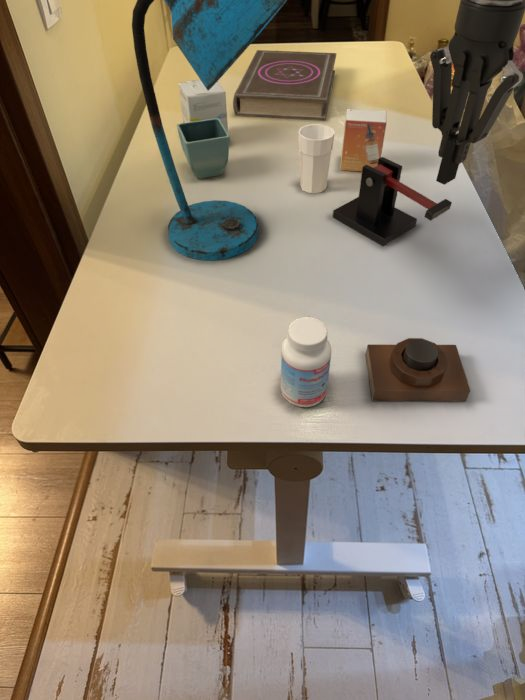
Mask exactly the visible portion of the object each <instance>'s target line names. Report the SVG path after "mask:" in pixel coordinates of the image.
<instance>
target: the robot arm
mask: <svg viewBox="0 0 525 700" xmlns="http://www.w3.org/2000/svg"><path fill="white" fill-rule="evenodd" d="M524 15H525V0H460V1H459V5H458V9H457V14H456V18H455V23H454V34H453V36H452V37H451V39H450V40H449V42H448V45H447V46H443V47H440V48H437V49H436V50H433V51H431V53H430V55H429V58H430V62H431V67H432V70H433V73H432V75H433V78H432V79H433V80H432V112H431V113H432V114H431V115H432V117H431V119H432V120H431V125H432V128H433V129H435V130H437V129H438V130H439V131H440V132H441V140H440V144H439V149H438V152H437V153H438V157H440V158H441V160H440V164H439V168H438V172H437V176H436V180H435V182H437V183H439V184H442V185H444V186H445V185H446V184H449V183H450V182H452V181H453V180H455V179H456V177H457V173H458V169H459V167H460V164H462V163H464V162H465V161H466V159H467V157H468V153H469V150H470V146H471V144H476V143H478V142H480V141H481V140H484V139H485V138H487V137H488V135H489V133H490V131H491V130H492V128H493V126H494V124H495V123H496V121H497V120H498V117H499V116H500V114H501V112H502V110H503V109H504V107H505V105H506V104H507V102H508V100H509V98H510V96H511V95H512V93H513V92H514V90H515V89H516V88H517V87H518V86H519V85H520V84H522V83H523V82H524V81H525V70H524V69H521V70H519V68H518V67H517V66H516V64H515V62H514V61H513V60H514V57H515V51H514V49H515V48H514V45H515V42H516V39H517V36H518V35H519V32H520V28H521V26H522V22H523V18H524ZM453 69H454V72H453ZM501 72H502V74H501V76H500V78H499V80H498V82H499V85H498V86H497V87H496V88H495V90H494V92H493V94H492V95H491V97H490V99H489V101H488V103H487V105H486V106H485V108H484V109H483V107H484V104H485V102H486V101H485V100H486V98H487V94H488V91H489V89H490V88H491V86H492V83H493V80H494V79H495V78H496V77H497V76H498V75H499V74H500V73H501ZM452 74H453V75H452ZM482 111H483V112H482Z"/></svg>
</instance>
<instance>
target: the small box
mask: <svg viewBox="0 0 525 700" xmlns="http://www.w3.org/2000/svg"><path fill="white" fill-rule="evenodd" d="M344 119H345V120H344V121H345V122H344V127H343V128H344V129H343V137H342V144H341V145H342V147H341V155H340V164H339V166H340V167H339V170H340V171H351V172H352V171H353V172H362V168H363V166H365V165H368V166H371V167H373V168H374V167H376V166H378V159H379V158H381V157H382V153H383V148H384V142H385V135H386V129H387V122H388V121H387V120H388V111H387V110H373V109H372V110H371V109H370V110H369V109H353V108H347V109H346V113H345V118H344Z"/></svg>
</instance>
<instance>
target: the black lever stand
mask: <svg viewBox="0 0 525 700" xmlns="http://www.w3.org/2000/svg"><path fill="white" fill-rule="evenodd" d="M380 164H381V165H383V166H385V167H386V168H388V169H390V170H392V171H393V173H392V178H394V179H396V180H397V181H399V182H401V175H402V169H403V165H401V164H399V163H397V162H395V161H393V160H390V159H388V158H386V157H384V156H381V158H379V159H378V165H380ZM386 176H387V174H385V173H383V172H381V171H379V170H377V169H375V168H373V167H371V166H368V165H365V166H363V168H362V171H361V176H360V184H359V191H358V196H357V197H356V198H353V199H352V200H350V201H348V202H346V203H344V204H343V205H341V206H338V207H337V208H335V209H333V211H332V218H333V219H335V220H336V221H338V222H340V223H342V224H344V225H345V226H347V227H348V228H351V229H352V230H353V231H356V232H357V233H359V234H360V235H363V236H364V237H366V238H368V239H370V241H371V240H372V241H373V242H375V243H376V244H378V245H380V246H382V247H384V246H385V245H387V244H389V243H390V242H392V241H394V240H395V239H397V238H399V237H400V236H402V235H404V234H405V233H407V232H409V231H410V230H412V229H413V228H415V227H416V226H417V221H418V219H417V218H416V217H414V216H412V215H410V214H409V213H407V212H404V211H403V210H402V209H399V208H397V207H395V206H396V202H397V196H398V193H399V192H398V191H397V190H395V189H393V188H391V187H390V186H388V185H386V186H385V182H386Z"/></svg>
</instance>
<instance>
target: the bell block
mask: <svg viewBox="0 0 525 700" xmlns="http://www.w3.org/2000/svg"><path fill="white" fill-rule="evenodd" d="M416 339H422V340H426V341H429V342H431V343H432V344H434V345H435V346H436V348H437V350H438V356H437V359H436V362H435V365H434V366H433V367H432V368H431V369H429V370H427V371H417V370H414V369H412V368H410V367H409V366H408V365H407V364H406V363H405V361H404V353H405V349H406V346H407V344H408V343H409V342H410V341H412V340H416ZM365 361H366V367H367V373H368V381H369V387H370V393H371V399H372V401H373V402H376V401H377V402H379V401H382V402H467V400H468V398H469V396H470V393H471V387H470V384H469V382H468V379H467V376H466V372H465V369H464V366H463V362H462V360H461V356H460V353H459V350H458V347H457V344H437V343H435V342H434V341H433V342H432V341H430V340H428V339H425V338H422V337H418V338H417V337H408V338H406V339H403V340H401V341H399V342H397V343H396V344H367V346H366V351H365Z"/></svg>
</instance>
